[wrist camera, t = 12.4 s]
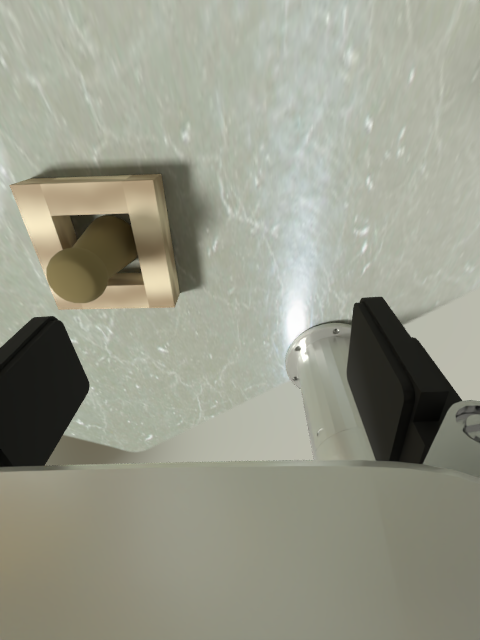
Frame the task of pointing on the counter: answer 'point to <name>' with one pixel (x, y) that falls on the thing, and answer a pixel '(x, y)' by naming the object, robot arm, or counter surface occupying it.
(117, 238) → the cork
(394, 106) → the counter surface
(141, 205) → the socket block
